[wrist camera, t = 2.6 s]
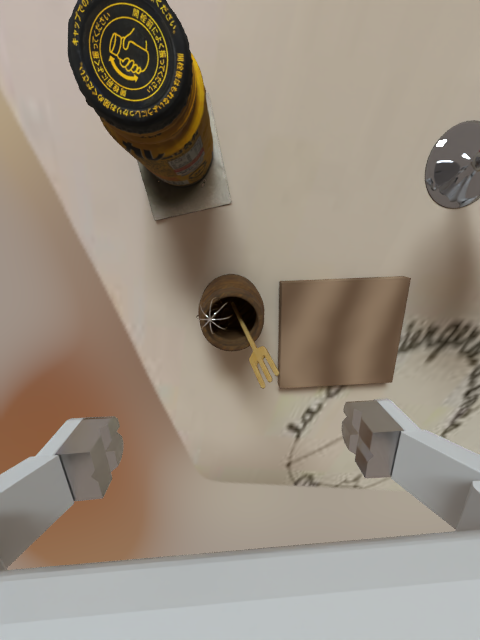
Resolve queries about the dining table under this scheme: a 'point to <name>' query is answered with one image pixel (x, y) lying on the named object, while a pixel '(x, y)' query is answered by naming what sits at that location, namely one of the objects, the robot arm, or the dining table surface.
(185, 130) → the condiment
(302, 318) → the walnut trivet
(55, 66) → the dining table surface
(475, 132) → the wine glass
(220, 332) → the utensil holder
